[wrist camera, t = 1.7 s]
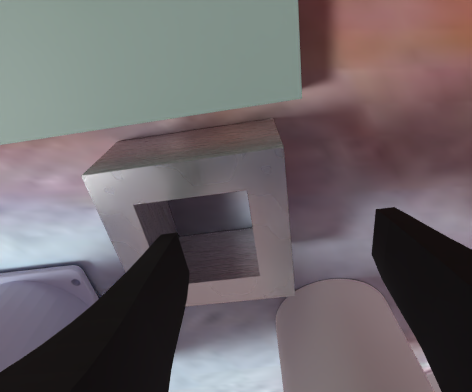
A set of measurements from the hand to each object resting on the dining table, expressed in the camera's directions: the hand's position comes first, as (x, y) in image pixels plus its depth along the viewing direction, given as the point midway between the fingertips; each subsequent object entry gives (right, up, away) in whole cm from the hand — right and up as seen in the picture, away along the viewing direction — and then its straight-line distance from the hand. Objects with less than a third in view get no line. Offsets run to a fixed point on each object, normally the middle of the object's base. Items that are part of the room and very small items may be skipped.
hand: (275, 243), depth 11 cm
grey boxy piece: (-3, +2, +4) cm, 5 cm away
